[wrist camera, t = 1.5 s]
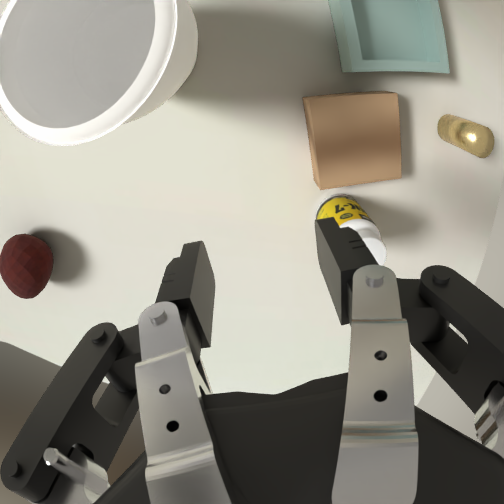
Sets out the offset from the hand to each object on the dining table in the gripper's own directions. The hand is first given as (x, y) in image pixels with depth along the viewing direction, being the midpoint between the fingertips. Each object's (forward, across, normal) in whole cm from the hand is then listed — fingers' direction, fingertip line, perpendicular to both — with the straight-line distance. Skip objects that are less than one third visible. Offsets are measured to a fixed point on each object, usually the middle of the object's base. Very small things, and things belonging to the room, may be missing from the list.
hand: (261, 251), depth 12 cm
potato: (+18, +28, +5) cm, 33 cm away
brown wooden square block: (+18, -10, 0) cm, 20 cm away
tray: (+17, -14, -11) cm, 25 cm away
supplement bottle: (+18, -8, +8) cm, 21 cm away
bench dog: (+17, -21, 0) cm, 27 cm away
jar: (+18, +6, -11) cm, 22 cm away
